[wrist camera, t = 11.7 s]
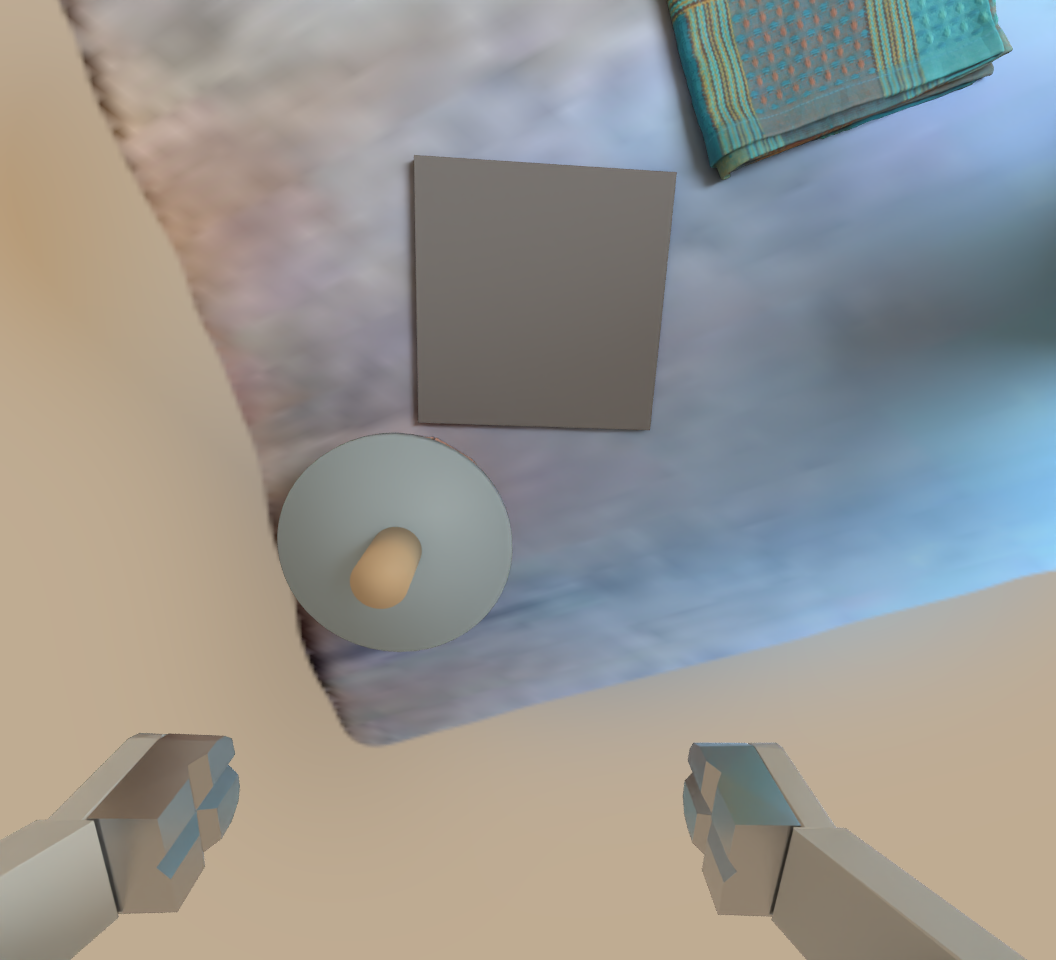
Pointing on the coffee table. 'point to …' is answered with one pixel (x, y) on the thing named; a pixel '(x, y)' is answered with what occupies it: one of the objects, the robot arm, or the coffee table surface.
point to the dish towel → (822, 65)
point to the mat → (539, 292)
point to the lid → (395, 542)
